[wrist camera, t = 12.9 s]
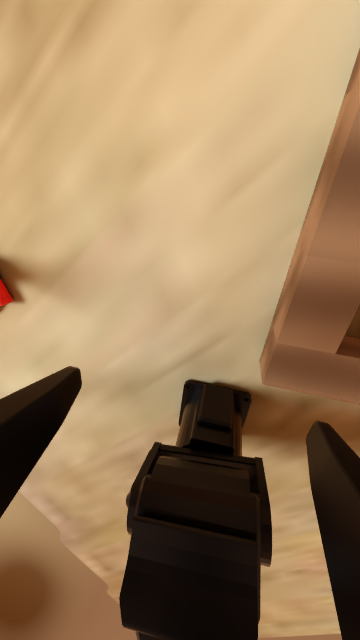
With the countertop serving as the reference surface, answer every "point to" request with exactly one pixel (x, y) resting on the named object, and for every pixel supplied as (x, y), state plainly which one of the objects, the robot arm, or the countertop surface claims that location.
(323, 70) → the countertop surface
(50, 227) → the countertop surface
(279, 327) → the hole block
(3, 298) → the tow hook
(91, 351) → the countertop surface
